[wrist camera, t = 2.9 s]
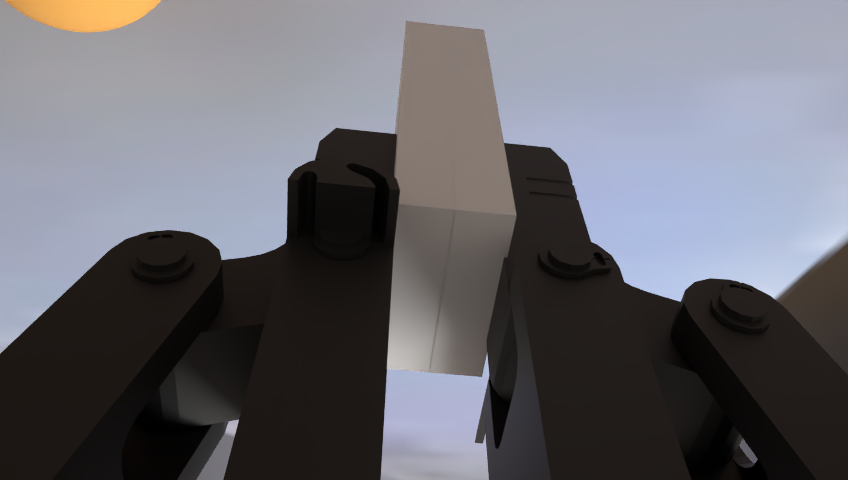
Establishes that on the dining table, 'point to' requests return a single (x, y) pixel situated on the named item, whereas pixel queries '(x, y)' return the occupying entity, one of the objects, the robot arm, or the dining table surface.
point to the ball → (84, 13)
